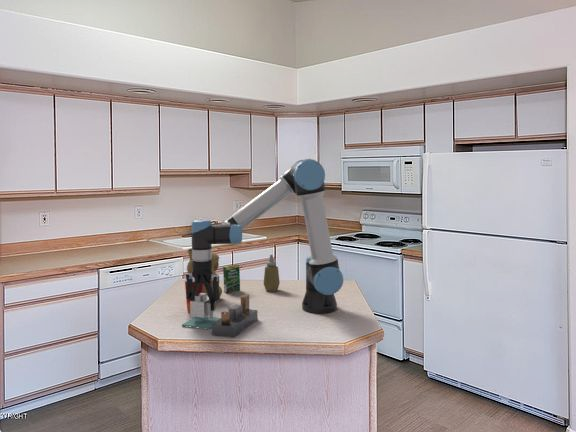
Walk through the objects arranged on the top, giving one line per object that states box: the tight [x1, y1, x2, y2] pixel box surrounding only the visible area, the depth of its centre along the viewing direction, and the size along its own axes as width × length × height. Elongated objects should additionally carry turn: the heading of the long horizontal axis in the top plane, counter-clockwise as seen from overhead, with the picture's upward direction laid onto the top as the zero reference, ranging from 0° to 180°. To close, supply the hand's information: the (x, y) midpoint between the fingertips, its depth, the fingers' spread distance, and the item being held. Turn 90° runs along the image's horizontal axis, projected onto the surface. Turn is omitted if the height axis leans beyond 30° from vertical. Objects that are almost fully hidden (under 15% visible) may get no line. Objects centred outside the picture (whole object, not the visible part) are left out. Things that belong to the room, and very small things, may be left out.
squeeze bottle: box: [263, 254, 281, 293], centre depth 241 cm, size 8×8×18 cm
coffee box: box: [222, 264, 241, 294], centre depth 240 cm, size 8×3×13 cm, turn 125°
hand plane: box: [211, 293, 259, 338], centre depth 186 cm, size 9×22×10 cm, turn 161°
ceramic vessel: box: [186, 248, 223, 298], centre depth 224 cm, size 17×20×25 cm
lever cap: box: [189, 293, 216, 318], centre depth 190 cm, size 6×9×8 cm, turn 161°
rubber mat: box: [181, 316, 221, 330], centre depth 191 cm, size 12×12×1 cm
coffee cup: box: [183, 276, 203, 313], centre depth 207 cm, size 8×8×15 cm
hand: (203, 317), depth 190 cm, fingers closed on lever cap, 6 cm apart
